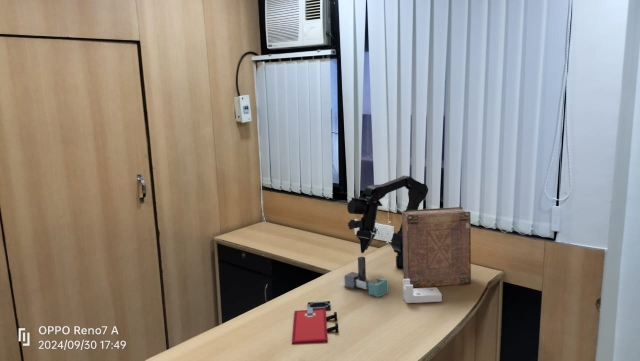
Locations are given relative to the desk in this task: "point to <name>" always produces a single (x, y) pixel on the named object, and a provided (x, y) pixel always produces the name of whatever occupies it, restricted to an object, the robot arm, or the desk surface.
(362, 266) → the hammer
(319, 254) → the desk surface
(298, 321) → the red board with handle
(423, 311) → the desk surface
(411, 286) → the bracket
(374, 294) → the socket block
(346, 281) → the outer sleeve
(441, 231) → the book
